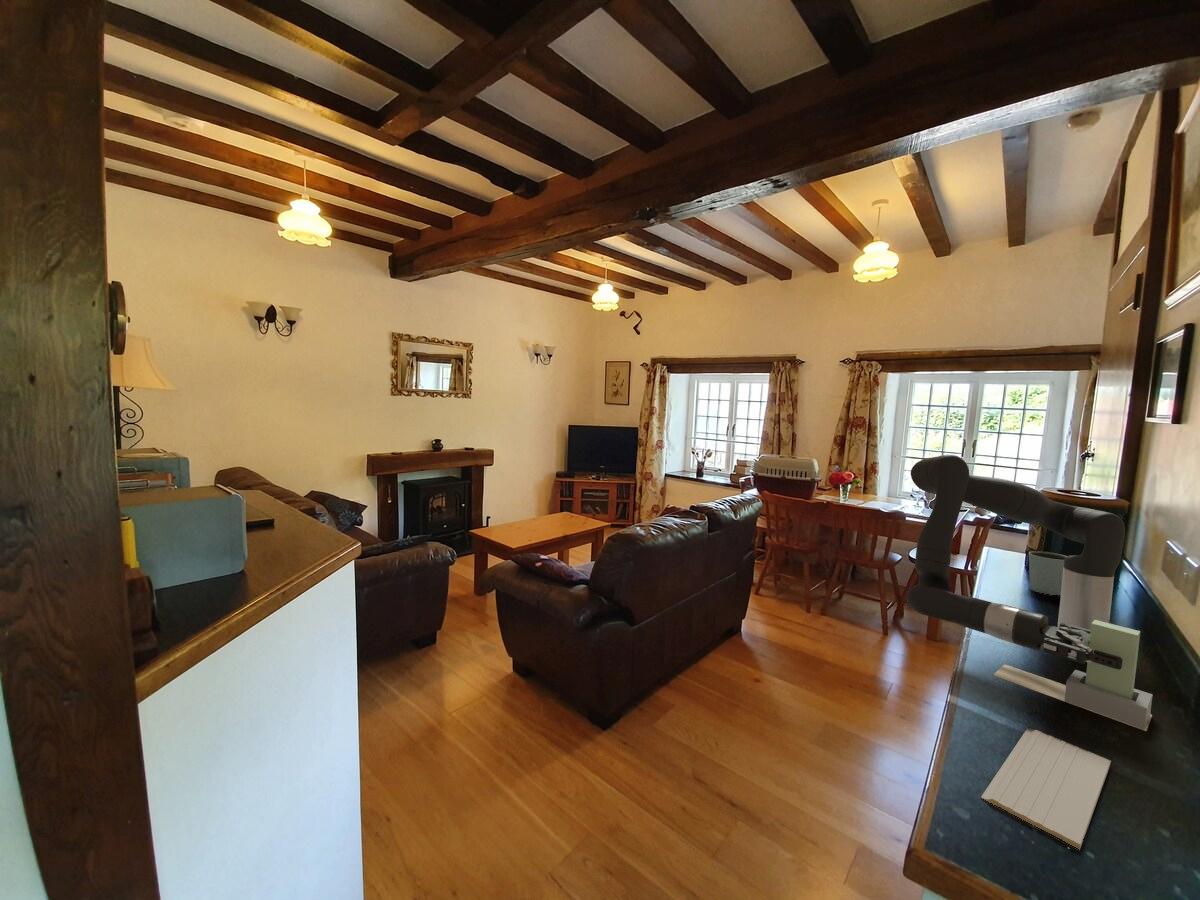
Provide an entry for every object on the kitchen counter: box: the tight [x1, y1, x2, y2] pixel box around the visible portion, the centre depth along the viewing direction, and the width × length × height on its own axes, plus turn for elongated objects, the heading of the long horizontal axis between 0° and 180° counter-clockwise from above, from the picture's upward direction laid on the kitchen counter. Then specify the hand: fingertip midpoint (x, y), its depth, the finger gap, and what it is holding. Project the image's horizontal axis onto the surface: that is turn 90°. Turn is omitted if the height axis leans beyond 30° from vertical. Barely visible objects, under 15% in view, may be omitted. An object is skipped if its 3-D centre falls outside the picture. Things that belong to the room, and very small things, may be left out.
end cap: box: [1064, 669, 1154, 731], centre depth 93 cm, size 8×10×4 cm
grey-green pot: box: [1028, 550, 1067, 597], centre depth 158 cm, size 10×10×12 cm
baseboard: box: [980, 711, 1116, 851], centre depth 77 cm, size 31×3×12 cm
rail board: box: [992, 663, 1153, 732], centre depth 97 cm, size 8×22×1 cm, turn 36°
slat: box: [1085, 620, 1141, 700], centre depth 92 cm, size 3×6×16 cm, turn 36°
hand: (1126, 657), depth 91 cm, fingers open, 8 cm apart
